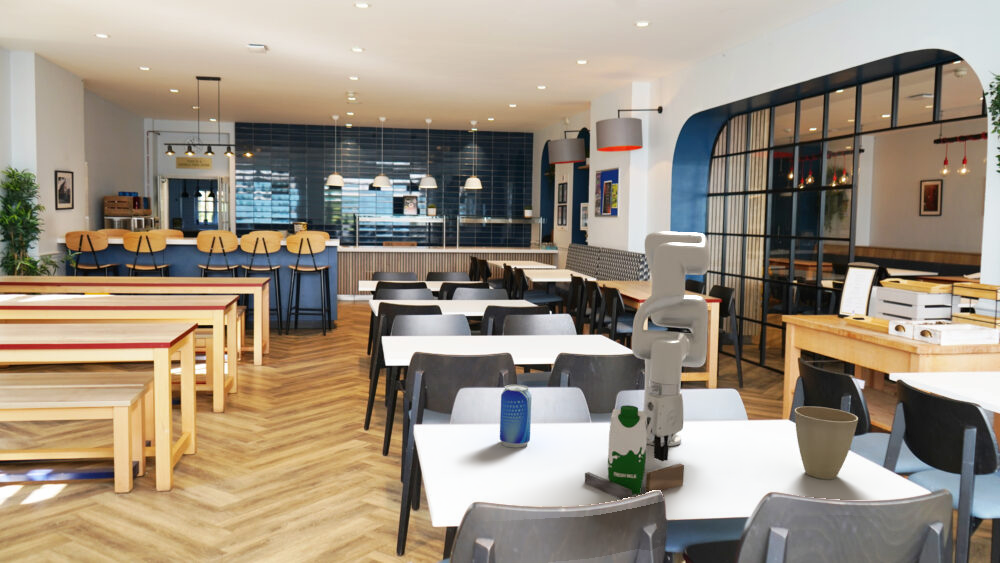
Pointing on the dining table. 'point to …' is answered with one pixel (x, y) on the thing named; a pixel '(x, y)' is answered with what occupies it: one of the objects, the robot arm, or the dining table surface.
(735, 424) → the dining table surface
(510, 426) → the beer can
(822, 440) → the plant pot
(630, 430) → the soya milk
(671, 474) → the wooden planks
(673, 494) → the dining table surface
